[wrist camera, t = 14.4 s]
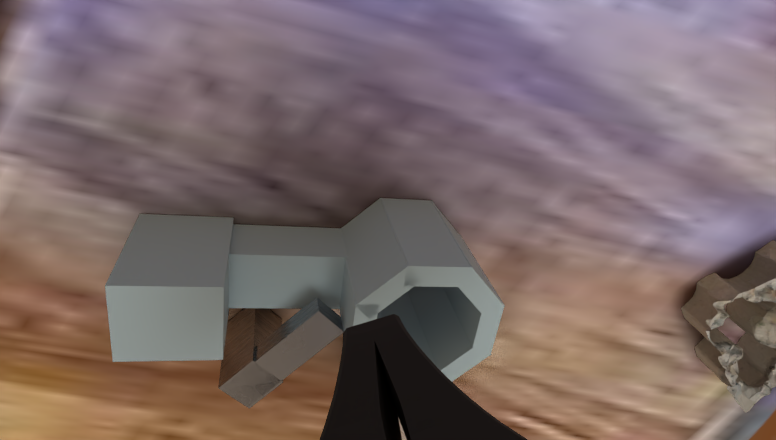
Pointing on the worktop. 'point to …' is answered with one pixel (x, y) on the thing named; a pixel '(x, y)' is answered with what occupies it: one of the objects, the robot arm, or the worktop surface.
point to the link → (301, 282)
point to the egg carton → (750, 312)
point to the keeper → (272, 348)
